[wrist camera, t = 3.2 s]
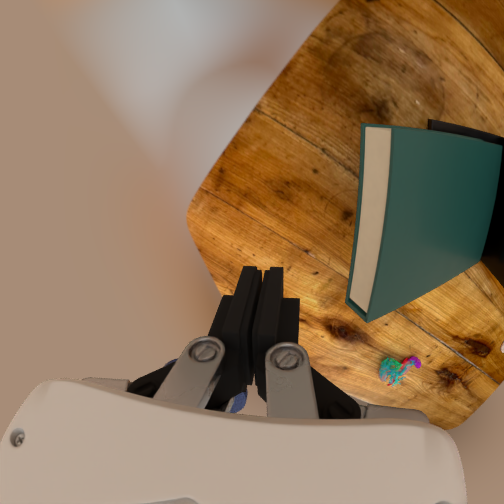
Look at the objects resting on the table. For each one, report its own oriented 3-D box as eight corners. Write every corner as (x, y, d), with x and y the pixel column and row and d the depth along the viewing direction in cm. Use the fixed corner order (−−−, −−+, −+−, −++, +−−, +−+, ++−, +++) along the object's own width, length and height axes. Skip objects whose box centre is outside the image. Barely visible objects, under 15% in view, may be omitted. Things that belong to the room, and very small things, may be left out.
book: (344, 302, 23) (366, 323, 20) (360, 123, 16) (394, 128, 14) (462, 251, 29) (479, 261, 26) (481, 139, 22) (502, 145, 20)
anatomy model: (409, 397, 38) (429, 377, 34) (368, 397, 39) (385, 376, 35) (406, 372, 42) (423, 350, 38) (366, 371, 43) (381, 348, 39)
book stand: (412, 251, 31) (453, 321, 20) (428, 118, 24) (498, 134, 13) (479, 253, 30) (527, 313, 18) (500, 136, 22) (572, 163, 11)
